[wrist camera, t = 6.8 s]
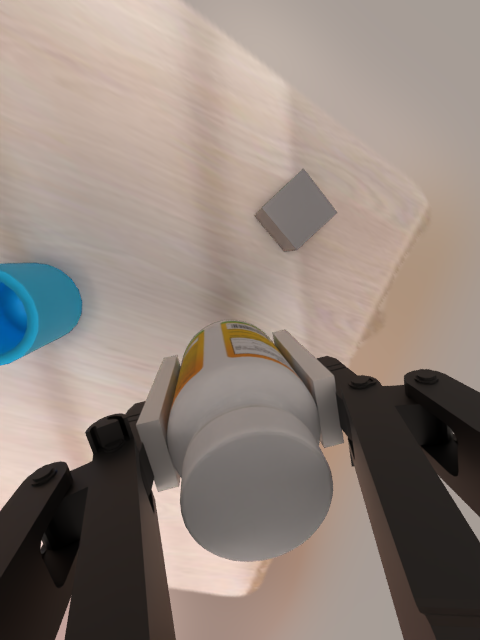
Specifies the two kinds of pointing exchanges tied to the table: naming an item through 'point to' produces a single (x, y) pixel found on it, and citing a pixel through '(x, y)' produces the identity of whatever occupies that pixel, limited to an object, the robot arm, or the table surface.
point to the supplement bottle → (246, 446)
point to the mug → (34, 308)
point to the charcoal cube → (295, 212)
